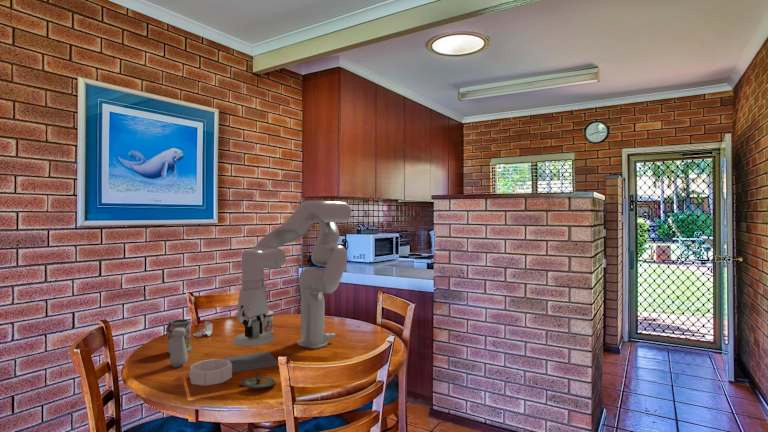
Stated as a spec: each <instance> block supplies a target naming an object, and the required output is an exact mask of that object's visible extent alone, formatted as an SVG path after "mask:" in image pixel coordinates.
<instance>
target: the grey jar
mask: <svg viewBox="0 0 768 432" xmlns="http://www.w3.org/2000/svg"><path fill="white" fill-rule="evenodd" d="M191 324H192V321H191V320H189V319H185V318H178V319H172V320H169V321H168V324H167V326H166V327H165V333H166V334H167V353H168V354H169V356H170V355H171V351H172V346H173V341H174V336H173V335H172V331H173V330H174V329H175V328H184V329H185V330H186V333H185V335H184V339H185V344H186V349H187V353H188V352H190V351H191V350H192V325H191Z"/></svg>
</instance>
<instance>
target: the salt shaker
mask: <svg viewBox="0 0 768 432" xmlns="http://www.w3.org/2000/svg"><path fill="white" fill-rule="evenodd" d="M185 333H186V330H185V329H184V328H175V329H174V330H173V331H172V335H173V336H174V341H173V346H172V351H171V355H170V354H169V356H170V357H169V362H170V364H171V366H172V367H173V368H181V367H184V364H186V363H187V361H188V359H189V355H188V352H187V349H186V344H185V339H184V335H185Z"/></svg>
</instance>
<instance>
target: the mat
mask: <svg viewBox="0 0 768 432" xmlns="http://www.w3.org/2000/svg"><path fill="white" fill-rule="evenodd" d="M224 359H225V360H230V362H231V364H232V373H237V372H243V371H249V370H256V369H261V368H268V367H273V366H274V367H275V366H279V365H278V362H277V361H278V360H277V359H276V358H275V357H274V356H273V355H272V353H271V352H270V351H263V352H256V353H249V354H242V355H241V354H240V355H235V356H228V357H224Z"/></svg>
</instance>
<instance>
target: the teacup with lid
mask: <svg viewBox="0 0 768 432" xmlns="http://www.w3.org/2000/svg"><path fill="white" fill-rule="evenodd" d="M274 315H275V313H274V311H272V310H269V313H268V314H267V315H266V317H265V318H264V322H263V323H262V332H268V333H272V334H273V333H274ZM254 319H256V317H252V320H254Z"/></svg>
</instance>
